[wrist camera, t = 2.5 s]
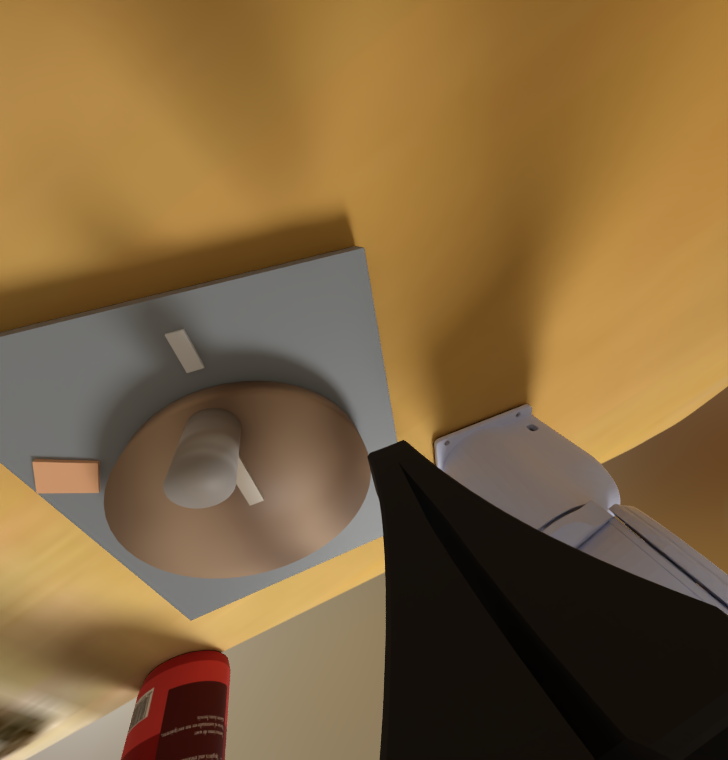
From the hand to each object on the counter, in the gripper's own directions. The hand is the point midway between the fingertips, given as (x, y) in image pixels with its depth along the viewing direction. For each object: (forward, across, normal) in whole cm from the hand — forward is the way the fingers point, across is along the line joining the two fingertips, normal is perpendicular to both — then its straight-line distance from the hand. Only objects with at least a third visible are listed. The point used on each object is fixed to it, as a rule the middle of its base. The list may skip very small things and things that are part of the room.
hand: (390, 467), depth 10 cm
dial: (+8, +7, +6) cm, 12 cm away
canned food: (+10, +22, +28) cm, 36 cm away
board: (+9, +7, +6) cm, 13 cm away
